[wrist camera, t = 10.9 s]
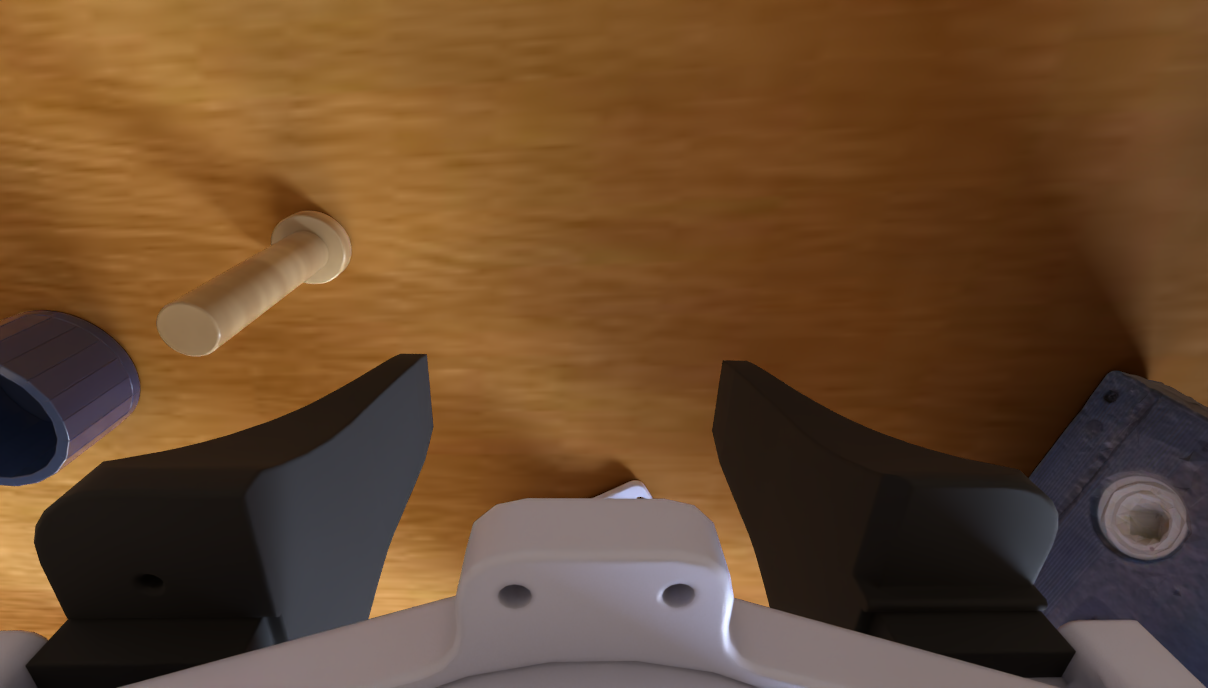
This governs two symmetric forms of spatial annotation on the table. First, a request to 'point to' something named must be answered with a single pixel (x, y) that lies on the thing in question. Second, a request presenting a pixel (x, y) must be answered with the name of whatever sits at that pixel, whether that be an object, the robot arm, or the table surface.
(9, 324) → the cup
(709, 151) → the table surface
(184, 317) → the beige capped rod
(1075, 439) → the vhs cassette tape
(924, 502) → the robot arm
